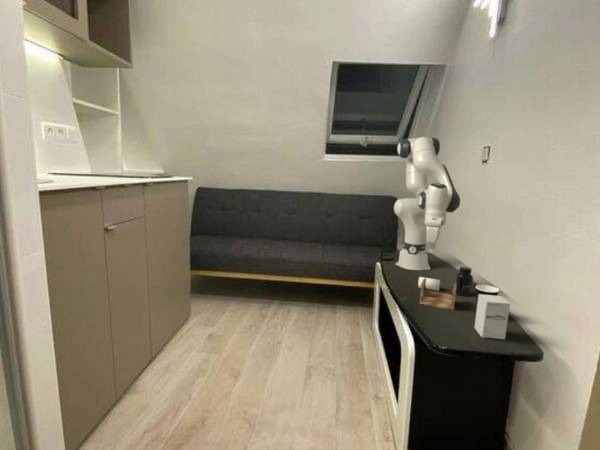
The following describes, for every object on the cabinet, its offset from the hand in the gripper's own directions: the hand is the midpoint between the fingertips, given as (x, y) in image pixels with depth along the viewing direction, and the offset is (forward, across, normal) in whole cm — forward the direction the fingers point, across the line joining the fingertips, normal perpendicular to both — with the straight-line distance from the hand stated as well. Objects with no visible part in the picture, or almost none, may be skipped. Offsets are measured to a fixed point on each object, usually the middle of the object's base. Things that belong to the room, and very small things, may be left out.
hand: (432, 250), depth 156 cm
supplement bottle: (+18, -1, +14) cm, 23 cm away
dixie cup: (+19, +22, +22) cm, 36 cm away
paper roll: (+16, 0, 0) cm, 16 cm away
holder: (+18, +17, +5) cm, 25 cm away
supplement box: (+19, +38, +23) cm, 48 cm away
